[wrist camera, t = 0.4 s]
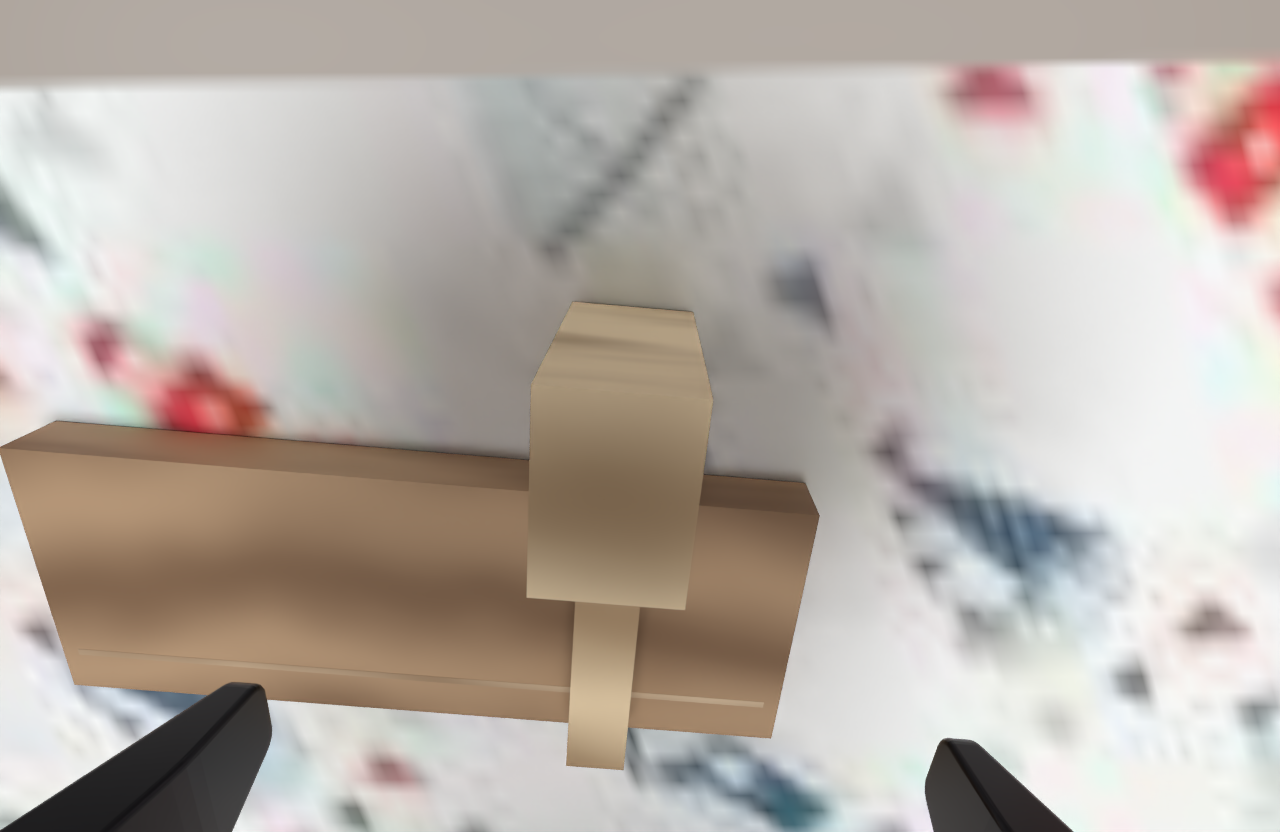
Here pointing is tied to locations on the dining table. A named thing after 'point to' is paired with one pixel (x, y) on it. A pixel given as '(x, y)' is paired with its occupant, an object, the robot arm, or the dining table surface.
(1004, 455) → the dining table surface
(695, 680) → the board
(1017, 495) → the dining table surface
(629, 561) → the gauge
